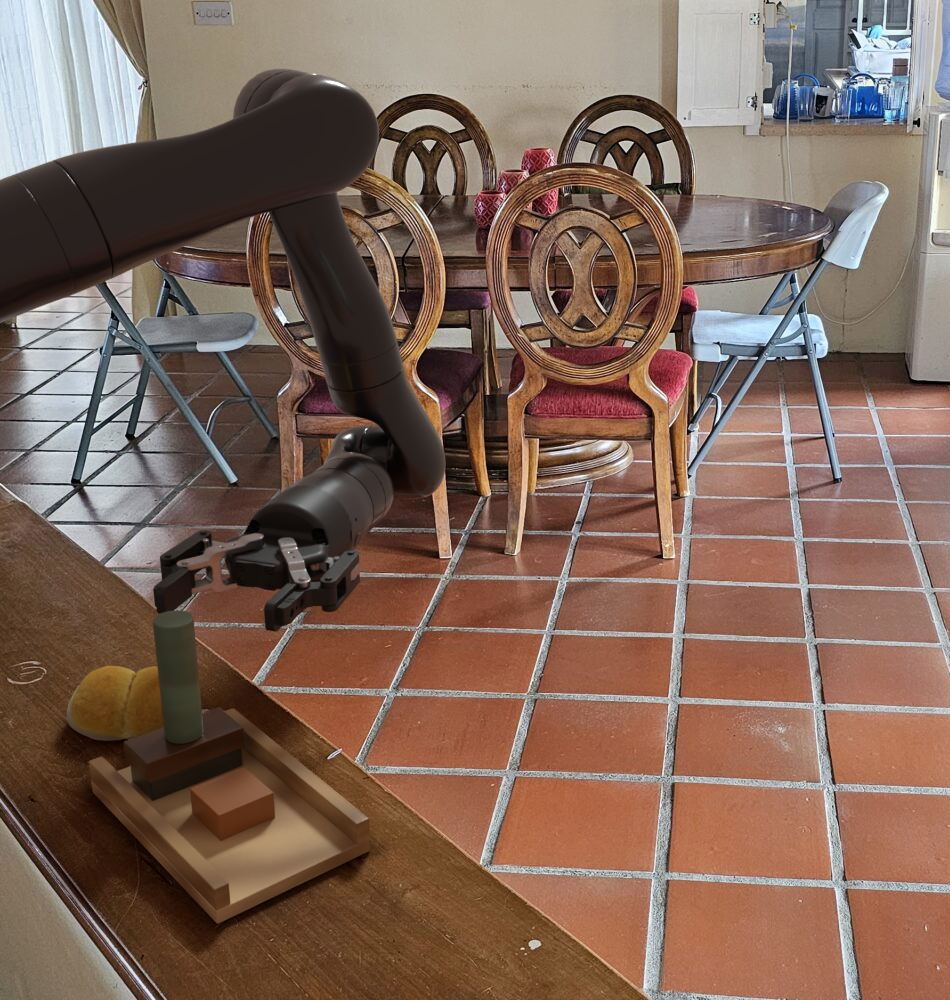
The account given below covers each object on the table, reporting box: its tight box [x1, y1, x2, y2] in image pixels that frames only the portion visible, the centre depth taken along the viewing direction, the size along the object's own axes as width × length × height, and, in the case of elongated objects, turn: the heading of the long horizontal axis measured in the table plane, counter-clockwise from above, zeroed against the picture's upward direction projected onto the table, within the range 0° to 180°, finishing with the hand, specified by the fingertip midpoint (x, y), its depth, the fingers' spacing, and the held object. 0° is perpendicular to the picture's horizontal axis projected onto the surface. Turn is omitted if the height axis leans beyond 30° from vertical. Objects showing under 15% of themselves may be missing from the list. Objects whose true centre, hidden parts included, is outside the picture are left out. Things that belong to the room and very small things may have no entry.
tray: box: [88, 707, 371, 924], centre depth 88 cm, size 18×11×3 cm, turn 43°
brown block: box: [190, 767, 275, 841], centre depth 87 cm, size 4×4×2 cm
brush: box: [123, 609, 245, 801], centre depth 89 cm, size 4×7×12 cm, turn 133°
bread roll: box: [66, 665, 164, 742], centre depth 99 cm, size 8×9×4 cm
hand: (214, 611), depth 92 cm, fingers open, 8 cm apart
